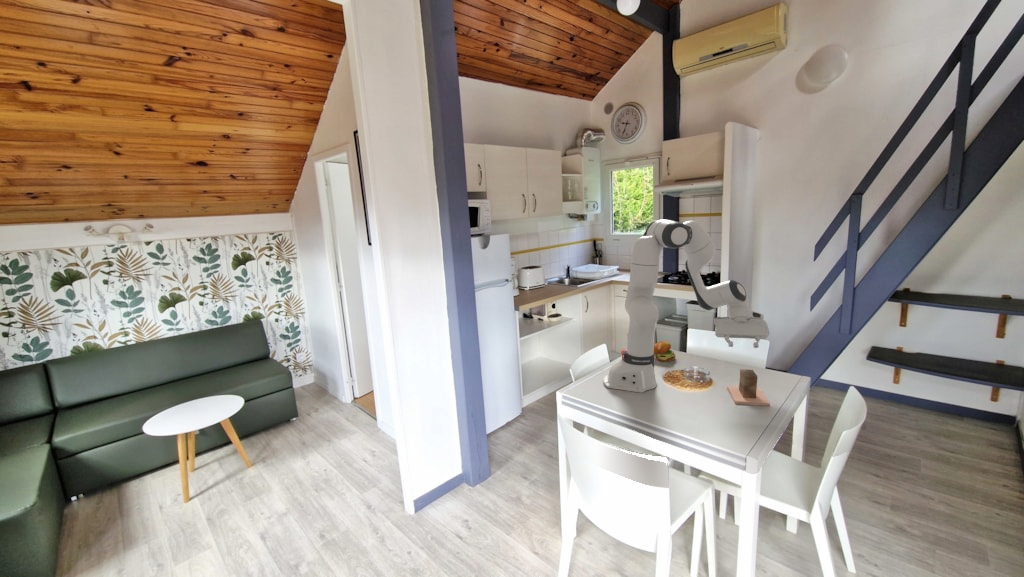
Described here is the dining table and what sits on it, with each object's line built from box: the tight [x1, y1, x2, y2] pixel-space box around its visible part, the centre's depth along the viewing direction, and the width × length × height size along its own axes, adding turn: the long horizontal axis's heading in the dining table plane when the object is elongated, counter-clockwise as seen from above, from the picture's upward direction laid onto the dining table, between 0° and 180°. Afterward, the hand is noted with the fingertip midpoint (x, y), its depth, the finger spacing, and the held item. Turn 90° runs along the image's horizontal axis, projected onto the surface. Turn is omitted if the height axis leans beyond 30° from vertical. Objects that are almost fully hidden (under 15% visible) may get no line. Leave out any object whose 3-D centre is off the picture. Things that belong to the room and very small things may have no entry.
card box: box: [738, 368, 758, 398], centre depth 171 cm, size 4×7×9 cm, turn 164°
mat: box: [726, 385, 771, 407], centre depth 172 cm, size 12×14×1 cm
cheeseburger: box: [654, 340, 676, 363], centre depth 214 cm, size 10×11×10 cm
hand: (743, 346), depth 179 cm, fingers open, 8 cm apart
